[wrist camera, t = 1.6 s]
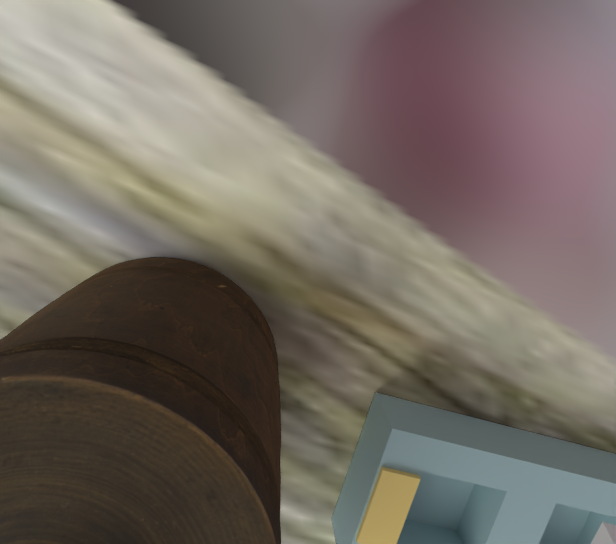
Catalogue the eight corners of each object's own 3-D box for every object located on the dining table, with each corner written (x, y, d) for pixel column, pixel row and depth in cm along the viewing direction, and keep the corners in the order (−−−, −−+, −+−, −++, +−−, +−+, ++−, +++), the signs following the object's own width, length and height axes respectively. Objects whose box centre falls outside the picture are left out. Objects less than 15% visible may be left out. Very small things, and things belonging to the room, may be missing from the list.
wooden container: (75, 486, 35) (-221, 984, 14) (21, 274, 32) (-468, 494, 11) (292, 451, 36) (329, 874, 15) (260, 240, 33) (246, 383, 11)
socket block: (580, 573, 40) (627, 635, 35) (331, 518, 37) (342, 577, 32) (631, 458, 38) (690, 504, 33) (375, 392, 36) (393, 431, 30)
